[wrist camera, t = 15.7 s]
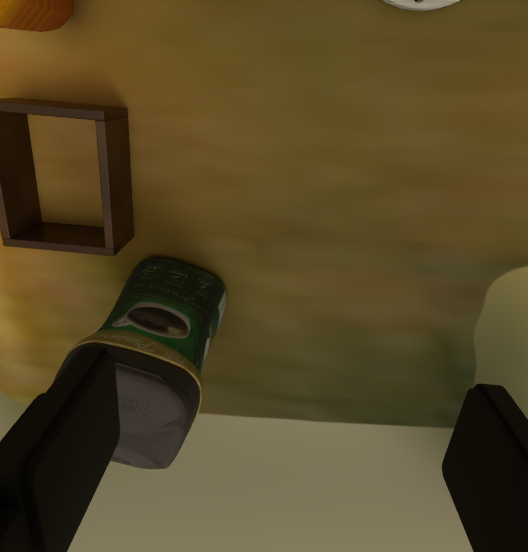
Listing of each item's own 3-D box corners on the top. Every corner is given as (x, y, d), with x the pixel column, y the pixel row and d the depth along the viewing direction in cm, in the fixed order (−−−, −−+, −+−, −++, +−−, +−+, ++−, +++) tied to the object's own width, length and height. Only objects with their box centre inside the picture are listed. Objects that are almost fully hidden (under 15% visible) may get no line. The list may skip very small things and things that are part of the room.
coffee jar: (124, 313, 43) (20, 459, 26) (140, 245, 40) (34, 360, 23) (214, 341, 44) (169, 500, 27) (237, 277, 41) (203, 411, 24)
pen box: (16, 97, 35) (-25, 99, 30) (127, 107, 35) (103, 110, 30) (35, 228, 40) (3, 246, 35) (134, 237, 40) (114, 256, 35)
